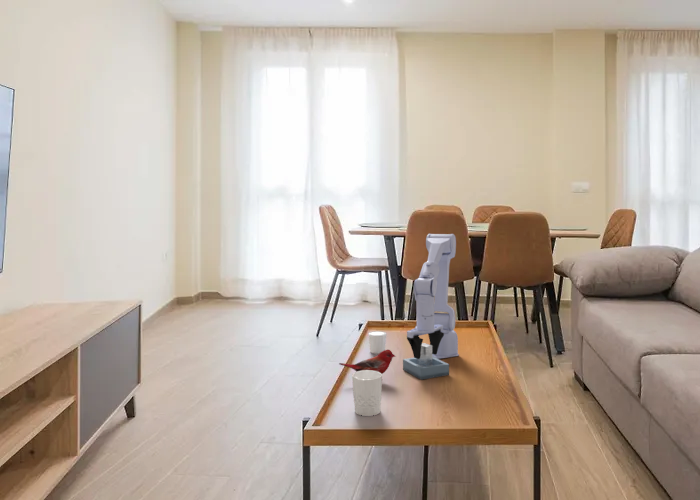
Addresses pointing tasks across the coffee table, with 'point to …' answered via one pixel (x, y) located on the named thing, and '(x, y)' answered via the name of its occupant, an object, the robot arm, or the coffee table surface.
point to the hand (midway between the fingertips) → (425, 355)
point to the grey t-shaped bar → (425, 355)
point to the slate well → (426, 368)
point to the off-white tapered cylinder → (377, 341)
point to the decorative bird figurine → (374, 363)
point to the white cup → (367, 392)
